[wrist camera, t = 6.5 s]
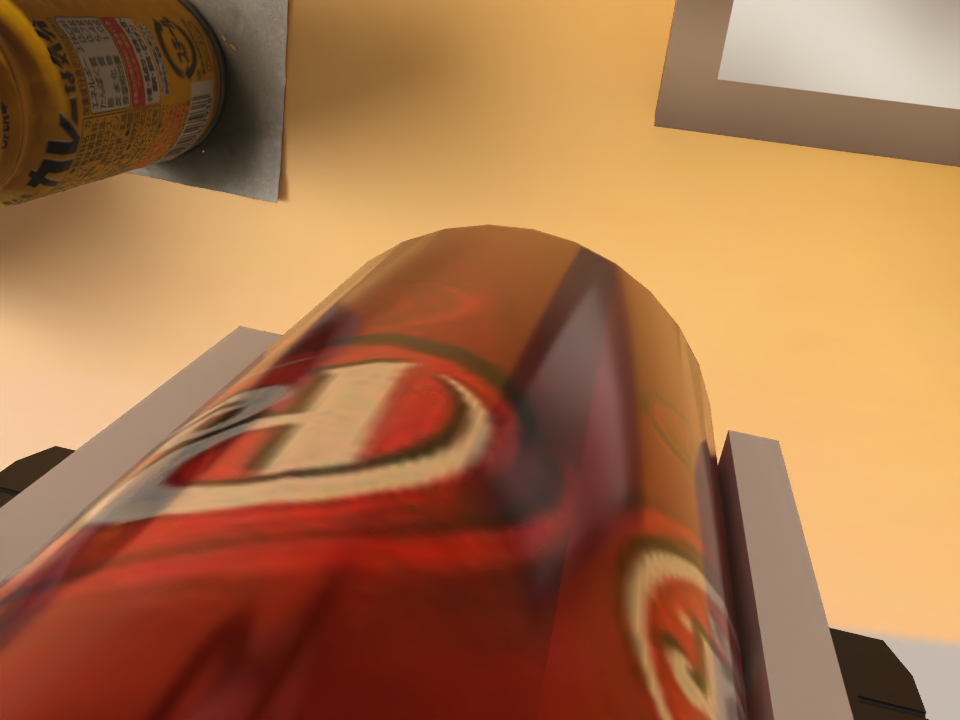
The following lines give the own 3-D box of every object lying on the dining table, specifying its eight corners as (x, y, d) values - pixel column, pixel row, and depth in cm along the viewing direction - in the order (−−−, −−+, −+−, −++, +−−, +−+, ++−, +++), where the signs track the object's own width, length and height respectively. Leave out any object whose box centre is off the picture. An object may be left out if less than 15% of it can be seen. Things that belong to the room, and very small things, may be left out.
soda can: (253, 446, 17) (-513, 1272, 6) (430, 128, 14) (-501, 623, 3) (559, 640, 17) (379, 1762, 6) (801, 373, 14) (1303, 1684, 3)
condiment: (61, -49, 29) (-295, -83, 18) (290, -12, 28) (57, -24, 17) (73, 160, 32) (-227, 238, 21) (281, 201, 31) (77, 304, 20)
